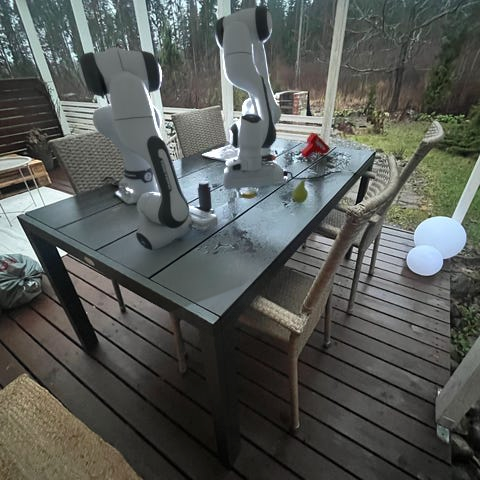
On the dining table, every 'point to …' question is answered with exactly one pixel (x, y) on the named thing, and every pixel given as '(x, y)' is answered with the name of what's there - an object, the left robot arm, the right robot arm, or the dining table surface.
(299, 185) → the fruit
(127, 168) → the left robot arm
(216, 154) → the relief map
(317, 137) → the toy gun
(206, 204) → the jar
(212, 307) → the dining table surface
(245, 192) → the lid
